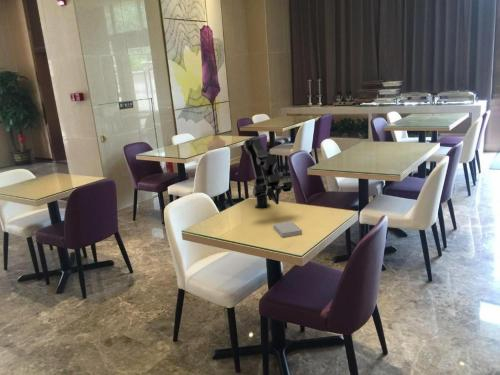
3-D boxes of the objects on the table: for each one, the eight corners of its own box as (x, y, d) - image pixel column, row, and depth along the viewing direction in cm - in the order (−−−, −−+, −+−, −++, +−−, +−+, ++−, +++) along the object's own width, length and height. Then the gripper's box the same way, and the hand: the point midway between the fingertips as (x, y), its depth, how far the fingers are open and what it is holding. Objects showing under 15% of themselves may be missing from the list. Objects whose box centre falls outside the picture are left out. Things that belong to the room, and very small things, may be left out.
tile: (273, 223, 198) (282, 233, 186) (291, 220, 200) (301, 230, 188) (273, 228, 199) (282, 238, 187) (291, 225, 201) (302, 235, 189)
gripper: (253, 169, 201) (261, 198, 194) (290, 164, 205) (300, 193, 198) (250, 181, 211) (257, 209, 204) (286, 176, 215) (294, 204, 208)
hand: (277, 204), depth 203 cm, fingers closed
